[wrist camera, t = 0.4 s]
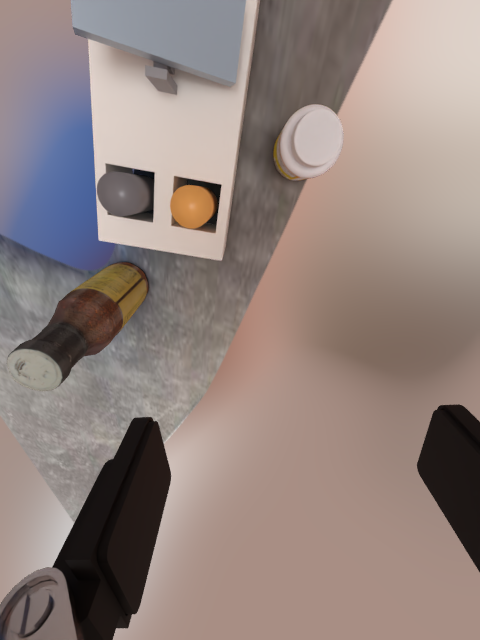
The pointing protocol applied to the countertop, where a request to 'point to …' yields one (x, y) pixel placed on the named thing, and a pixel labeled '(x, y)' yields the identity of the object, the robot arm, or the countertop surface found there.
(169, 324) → the countertop surface
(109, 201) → the button charcoal
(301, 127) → the supplement bottle
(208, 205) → the button orange
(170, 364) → the countertop surface
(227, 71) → the rocker
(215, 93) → the panel
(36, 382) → the sauce bottle
